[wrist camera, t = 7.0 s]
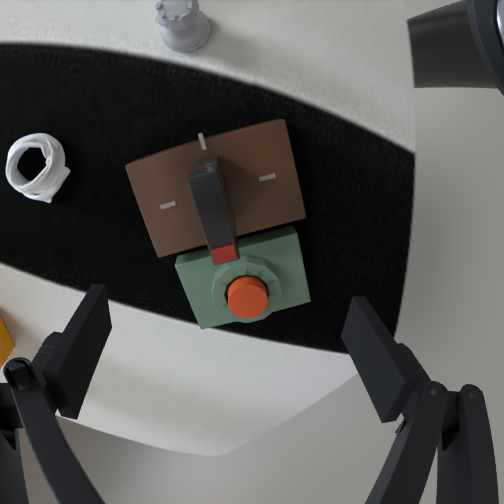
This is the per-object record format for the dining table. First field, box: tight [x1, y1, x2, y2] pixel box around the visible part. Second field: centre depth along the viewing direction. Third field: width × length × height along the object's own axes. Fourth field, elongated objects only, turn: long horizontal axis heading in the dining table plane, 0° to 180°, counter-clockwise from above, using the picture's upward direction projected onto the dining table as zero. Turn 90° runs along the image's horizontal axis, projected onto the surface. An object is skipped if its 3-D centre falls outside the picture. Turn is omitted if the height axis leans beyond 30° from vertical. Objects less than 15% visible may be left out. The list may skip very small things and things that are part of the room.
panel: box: [125, 119, 306, 257], centre depth 29 cm, size 14×10×3 cm
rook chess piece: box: [153, 0, 211, 52], centre depth 20 cm, size 4×4×8 cm
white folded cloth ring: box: [6, 133, 70, 203], centre depth 25 cm, size 8×7×5 cm
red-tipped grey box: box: [187, 155, 240, 266], centre depth 23 cm, size 6×2×8 cm, turn 14°
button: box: [228, 276, 268, 318], centre depth 30 cm, size 4×4×2 cm
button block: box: [175, 226, 310, 329], centre depth 32 cm, size 12×8×4 cm, turn 104°
